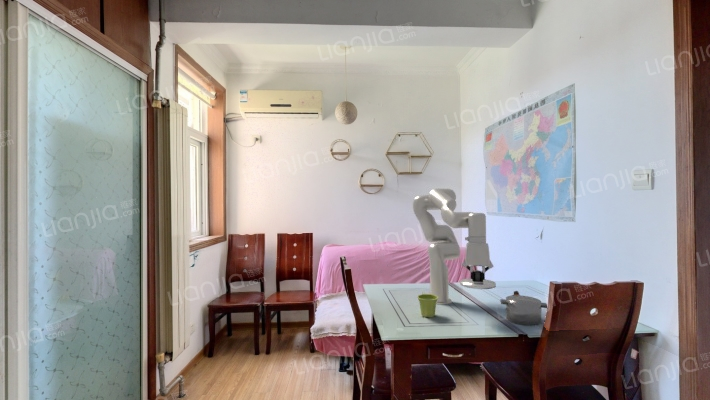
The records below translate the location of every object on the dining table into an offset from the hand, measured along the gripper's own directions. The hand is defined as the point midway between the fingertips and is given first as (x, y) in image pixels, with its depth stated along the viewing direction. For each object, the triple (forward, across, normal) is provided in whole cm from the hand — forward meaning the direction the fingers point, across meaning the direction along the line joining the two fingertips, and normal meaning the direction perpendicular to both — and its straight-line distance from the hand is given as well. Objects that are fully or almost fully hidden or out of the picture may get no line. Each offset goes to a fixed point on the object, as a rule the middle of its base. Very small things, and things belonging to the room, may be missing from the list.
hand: (477, 280), depth 148 cm
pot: (+17, +19, +5) cm, 26 cm away
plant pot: (+17, -22, -2) cm, 28 cm away
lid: (+2, 0, 0) cm, 2 cm away
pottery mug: (+17, +20, +24) cm, 36 cm away
